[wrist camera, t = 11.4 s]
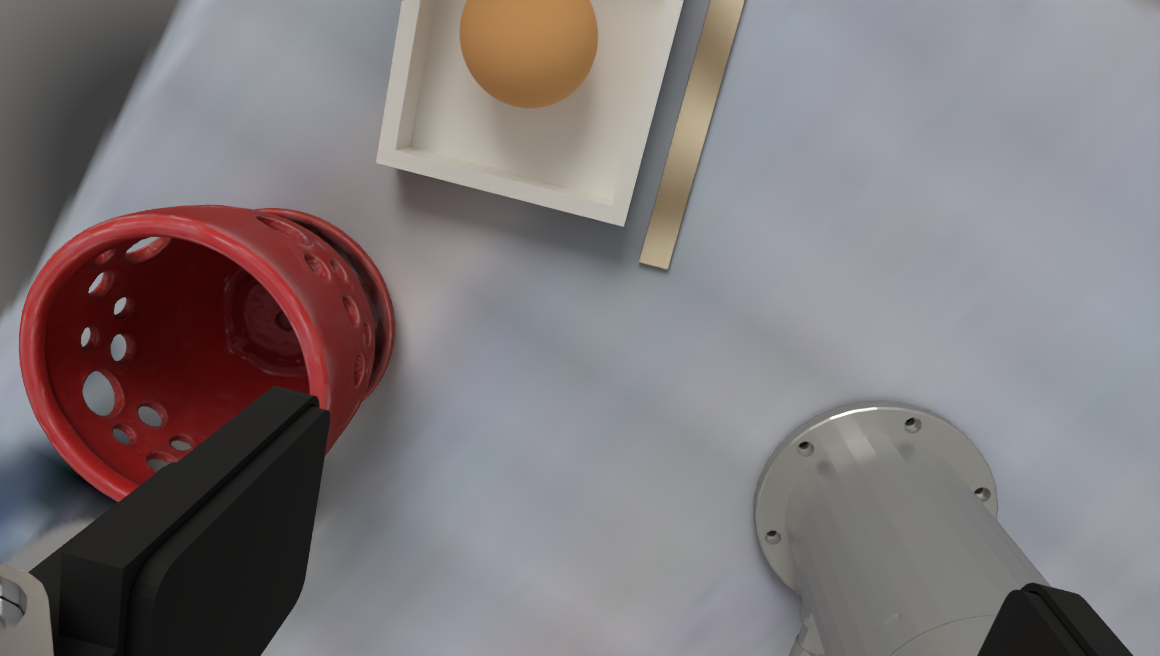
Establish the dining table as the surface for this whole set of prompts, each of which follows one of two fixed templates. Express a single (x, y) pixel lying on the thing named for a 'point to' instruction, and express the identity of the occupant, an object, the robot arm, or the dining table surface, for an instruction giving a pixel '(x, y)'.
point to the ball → (529, 48)
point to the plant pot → (198, 330)
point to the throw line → (691, 130)
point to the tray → (529, 112)
